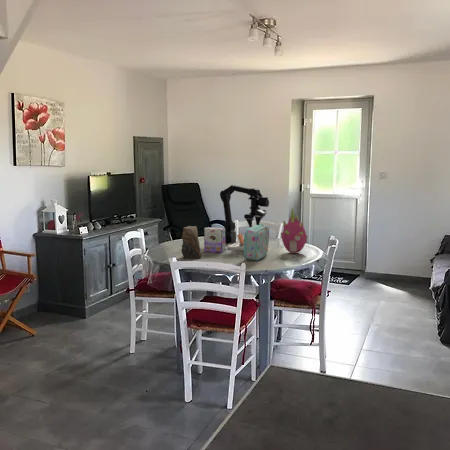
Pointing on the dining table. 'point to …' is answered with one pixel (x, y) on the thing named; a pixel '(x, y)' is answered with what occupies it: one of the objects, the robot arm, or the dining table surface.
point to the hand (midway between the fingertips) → (254, 227)
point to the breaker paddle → (241, 238)
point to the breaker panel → (236, 246)
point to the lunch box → (256, 242)
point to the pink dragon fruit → (294, 234)
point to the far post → (233, 237)
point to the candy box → (214, 240)
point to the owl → (190, 243)
